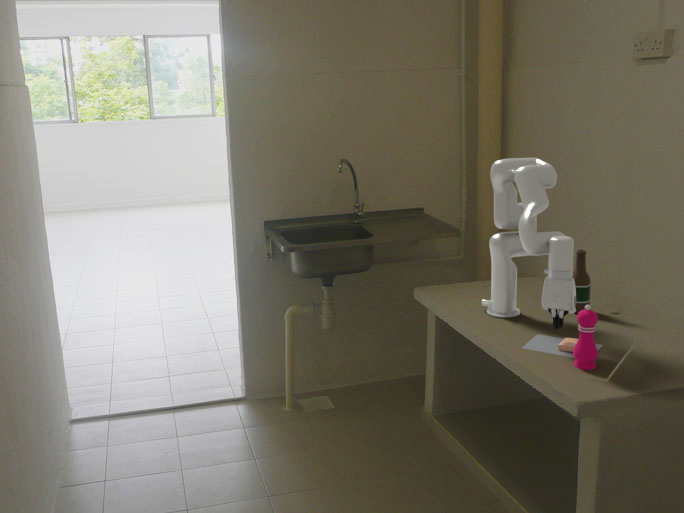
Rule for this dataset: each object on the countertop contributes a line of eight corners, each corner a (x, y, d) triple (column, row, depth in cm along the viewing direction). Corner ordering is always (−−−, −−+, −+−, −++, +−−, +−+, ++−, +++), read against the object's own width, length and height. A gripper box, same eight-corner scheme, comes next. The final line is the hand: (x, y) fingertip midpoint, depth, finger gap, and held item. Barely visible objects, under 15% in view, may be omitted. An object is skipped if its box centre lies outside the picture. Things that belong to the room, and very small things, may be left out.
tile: (558, 344, 224) (586, 347, 219) (565, 337, 231) (593, 340, 225) (558, 350, 225) (586, 353, 219) (565, 343, 231) (593, 345, 226)
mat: (521, 349, 228) (521, 348, 227) (537, 335, 240) (537, 334, 240) (589, 362, 215) (589, 360, 215) (602, 346, 228) (602, 345, 228)
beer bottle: (589, 309, 269) (592, 248, 263) (589, 315, 261) (592, 253, 256) (568, 307, 271) (570, 248, 266) (567, 313, 264) (570, 252, 259)
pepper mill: (568, 363, 215) (571, 302, 210) (591, 362, 215) (594, 300, 211) (578, 372, 208) (581, 309, 203) (601, 371, 208) (605, 307, 204)
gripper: (533, 274, 224) (531, 327, 228) (580, 279, 216) (577, 335, 220) (541, 269, 230) (539, 321, 234) (587, 274, 222) (584, 328, 226)
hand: (558, 328), depth 227 cm, fingers closed
